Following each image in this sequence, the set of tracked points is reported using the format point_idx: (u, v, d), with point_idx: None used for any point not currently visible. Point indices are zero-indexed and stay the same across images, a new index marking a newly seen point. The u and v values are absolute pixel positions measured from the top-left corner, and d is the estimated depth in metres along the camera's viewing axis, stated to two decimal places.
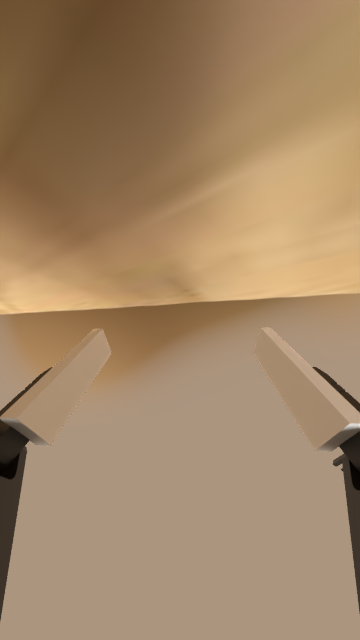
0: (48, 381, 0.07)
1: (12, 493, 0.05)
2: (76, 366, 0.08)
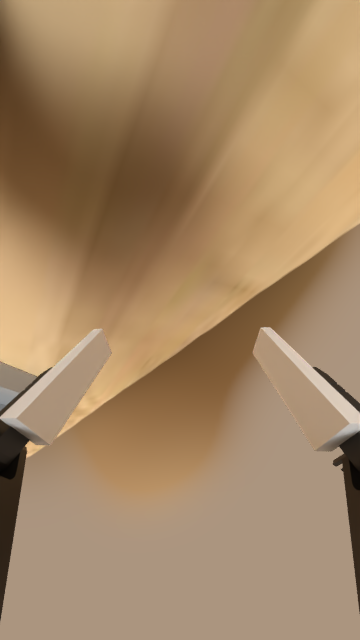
0: (48, 381, 0.07)
1: (12, 494, 0.05)
2: (76, 366, 0.08)
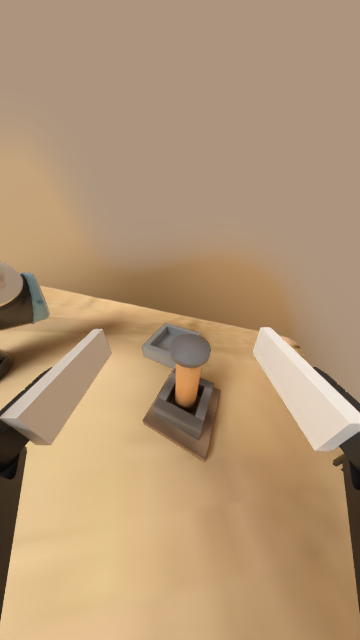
0: (48, 381, 0.07)
1: (12, 493, 0.05)
2: (76, 366, 0.08)
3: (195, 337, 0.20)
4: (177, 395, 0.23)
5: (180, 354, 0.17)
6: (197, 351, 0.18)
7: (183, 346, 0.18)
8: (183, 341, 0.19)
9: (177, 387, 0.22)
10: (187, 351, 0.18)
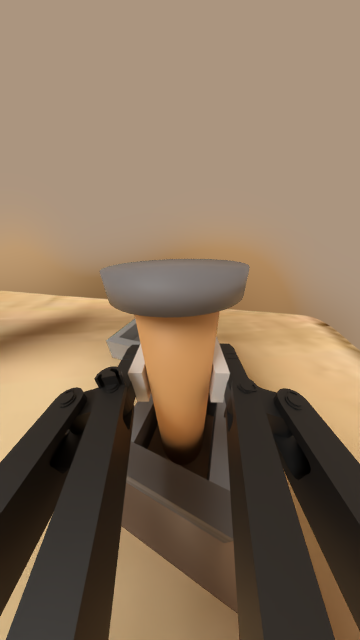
0: None
1: (128, 442, 0.06)
2: None
3: (190, 259, 0.07)
4: (160, 425, 0.10)
5: (133, 271, 0.04)
6: (202, 266, 0.05)
7: (152, 265, 0.05)
8: (155, 263, 0.06)
9: (156, 406, 0.08)
10: (165, 268, 0.05)
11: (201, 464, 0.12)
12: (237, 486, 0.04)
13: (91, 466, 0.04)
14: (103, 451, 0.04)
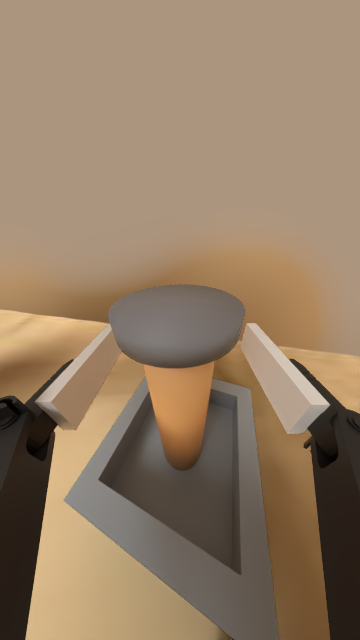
0: (73, 371, 0.07)
1: (43, 474, 0.05)
2: (96, 358, 0.09)
3: (190, 287, 0.08)
4: (161, 437, 0.10)
5: (138, 320, 0.05)
6: (201, 309, 0.05)
7: (155, 303, 0.06)
8: (157, 295, 0.07)
9: (158, 422, 0.09)
10: (168, 311, 0.05)
11: None
12: (346, 539, 0.04)
13: None
14: None
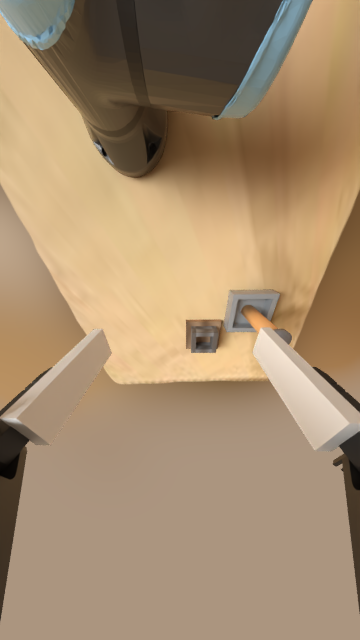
0: (48, 381, 0.07)
1: (12, 493, 0.05)
2: (76, 366, 0.08)
3: (287, 341, 0.29)
4: (249, 315, 0.38)
5: None
6: None
7: None
8: (282, 337, 0.29)
9: (253, 319, 0.36)
10: None
11: (198, 340, 0.49)
12: None
13: None
14: None
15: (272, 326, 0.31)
